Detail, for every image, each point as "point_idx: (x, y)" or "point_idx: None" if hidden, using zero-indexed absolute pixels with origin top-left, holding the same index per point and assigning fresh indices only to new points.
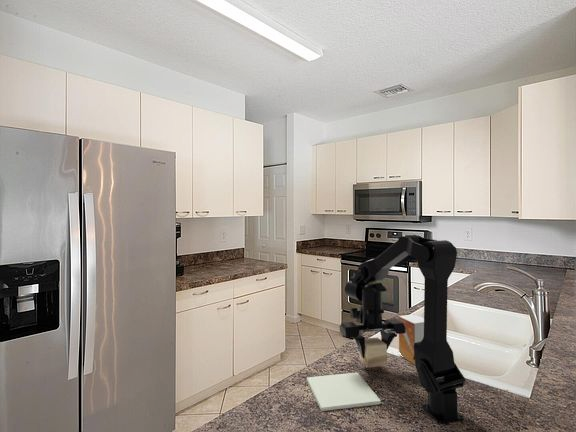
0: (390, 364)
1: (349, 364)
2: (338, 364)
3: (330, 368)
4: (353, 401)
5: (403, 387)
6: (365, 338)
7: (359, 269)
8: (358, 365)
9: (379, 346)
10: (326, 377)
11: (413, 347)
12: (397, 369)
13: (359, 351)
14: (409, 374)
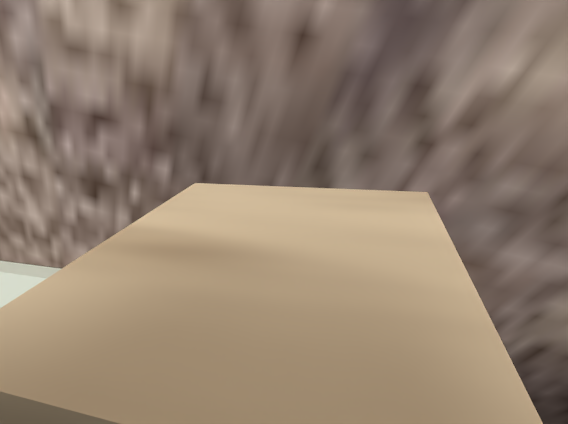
0: (546, 203)
1: (149, 115)
2: (65, 97)
3: (20, 153)
4: None
5: None
6: (61, 410)
7: None
8: (219, 151)
9: None
10: (8, 289)
11: None
12: (529, 303)
13: (144, 217)
14: (558, 388)
